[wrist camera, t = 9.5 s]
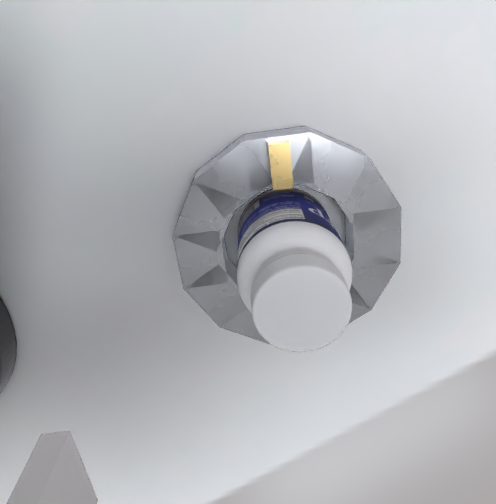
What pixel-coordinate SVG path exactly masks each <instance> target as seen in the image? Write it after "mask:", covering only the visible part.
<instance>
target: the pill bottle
mask: <svg viewBox="0 0 496 504" xmlns="http://www.w3.org/2000/svg"><path fill="white" fill-rule="evenodd" d="M351 283H352V265H351V261H350V258H349V255H348V252H347V250H346V248H345V246H344V244H343V242H342V241H341V239H340V237H339V235H338V233H337V232H336V230H335V228H334V226H333V224H332V223H331V221H330V219H329V217H328V215H327V213H326V211H325V210H324V208H323V207H322V205H321V204H320V203H319V202H318V201H317V200H316V199H315V198H313V197H312V196H311V195H309V194H307V193H305V192H303V191H300V190H297V189H291V188H289V189H281V190H270V191H268V192H265V193H263V194H261V195H259V196H258V197H257V198H255V199H254V200H253V201H252V202H251V203H250V204H249V205H248V206H247V208H246V209H245V211H244V212H243V214H242V216H241V219H240V222H239V226H238V257H237V284H238V289H239V293H240V296H241V298H242V300H243V302H244V304H245V305H246V307H247V308H248V309H249V311H250V312H251V313H252V317H253V321H254V324H255V326H256V328H257V330H258V332H259V333H260V334H261V336H262V337H263V338H264V339H265V340H266V341H268V342H269V343H270V344H272V345H274V346H276V347H278V348H280V349H283V350H287V351H292V352H306V351H312V350H316V349H319V348H322V347H324V346H326V345H328V344H330V343H331V342H332V341H334V340H335V339H336V338H338V337H339V335H340V334H341V333H342V332H343V331H344V329H345V328H346V327H347V325H348V323H349V320H350V318H351V313H352V299H351V295H350V292H349V291H350V288H351Z"/></svg>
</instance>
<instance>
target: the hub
mask: <svg viewBox="0 0 496 504" xmlns="http://www.w3.org/2000/svg"><path fill="white" fill-rule="evenodd" d="M299 184H301V185H304V186H306V187H308V188H311V189H313V190H316V191H318V192H320V193H323V194H325V195H328V196H330V197H332V198H334V199H335V200H336V202H337V203H338V205H339V206H340V208H341V209H342V210H343V212H344V213H345V228H346V244H345V248H346V250H347V252H348V255H349V258H350V261H351V265H352V283H351V288H350V291H349V292H350V295H351V299H352V313H351V318H350V320H349V323H350V322H352V321H353V320H355V319H357V318H358V317H360V316H362V315H363V314H365V313H367V312H368V311H370V310H371V309H372V308H373V306H374V304H375V303H376V301H377V300H378V298H379V296H380V295H381V293H382V292H383V290H384V288H385V287H386V285H387V283H388V282H389V280H390V279H391V277H392V275H393V274H394V272H395V271H396V269H397V267H398V266H399V264H400V246H401V206H400V205H399V203H398V202H397V200H396V199H395V197H394V195H393V194H392V192H391V191H390V189H389V188H388V186H387V185H386V183H385V182H384V180H383V178H382V177H381V175H380V174H379V172H378V171H377V169H376V168H375V166H374V164H373V163H372V161H371V160H370V158H369V157H367V156H366V155H365V154H364V153H363V152H361V151H360V150H358V149H356V148H354V147H352V146H349V145H347V144H345V143H343V142H340V141H338V140H336V139H333V138H331V137H329V136H327V135H324V134H322V133H320V132H318V131H315V130H313V129H311V128H309V127H306V126H301V127H294V128H286V129H279V130H271V131H264V132H256V133H248V134H243V135H242V136H241V137H240V138H238V139H237V140H236V141H234V142H233V143H232V144H231V145H229V146H228V147H227V148H226V149H224V150H223V151H222V152H220V153H219V154H218V155H217V156H215V157H214V158H213V159H211V160H210V161H209V162H208V163H206V164H205V165H204V166H202V167H201V168H200V169H199V170H197V172H196V174H195V177H194V180H193V182H192V185H191V188H190V190H189V193H188V195H187V198H186V201H185V203H184V206H183V209H182V211H181V214H180V217H179V219H178V222H177V225H176V227H175V230H174V233H173V235H172V236H173V241H174V246H175V250H176V255H177V260H178V264H179V269H180V274H181V278H182V283H183V288H184V290H185V291H186V292H187V293H188V294H189V295H190V296H191V297H192V298H193V299H194V300H195V301H196V302H197V303H198V304H199V305H200V306H201V308H202V309H203V310H204V311H205V312H206V313H207V314H208V315H209V316H210V317H211V318H212V319H213V320H214V321H215V322H216V323H217V325H218V326H219V327H221V328H224V329H227V330H230V331H233V332H236V333H239V334H242V335H245V336H248V337H250V338H253V339H256V340H259V341H262V342H265V343H268V344H270V343H269V342H268V341H266V340H265V339H264V338H263V337H262V336H261V334H260V333H259V332H258V330H257V328H256V326H255V324H254V321H253V317H252V313H251V312H250V311H249V309H248V308H247V307H246V305H245V304H244V302H243V300H242V298H241V296H240V293H239V289H238V284H237V268H236V267H235V266H234V264H233V263H232V262H231V261H230V260H229V259H228V257H227V252H226V245H225V239H224V234H225V231H226V229H227V227H228V224H229V222H230V220H231V217H232V215H233V213H234V210H236V209H237V208H239V207H240V206H241V205H243V204H244V203H245V202H247V201H248V200H249V199H251V198H252V197H254V196H255V195H256V194H258V193H259V192H260V191H262V190H263V189H268V188H273V190H281V189H289V188H294V187H293V185H299ZM349 323H348V324H349Z"/></svg>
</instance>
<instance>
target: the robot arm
mask: <svg viewBox="0 0 496 504" xmlns="http://www.w3.org/2000/svg"><path fill="white" fill-rule="evenodd" d="M15 358H16V341H15V335H14V330H13V326H12V323H11V320H10V318H9V315H8V313H7V311H6V308H5V307H4V305H3V303H2V301H1V300H0V393H1V391H2V390H3V388H4V387H5V386H6V384H7V382H8V381H9V379H10V376H11V374H12V371H13V368H14V364H15ZM97 501H98V499H97V497H96V494H95V492H94V489H93V487H92V484H91V482H90V479H89V477H88V474H87V472H86V469H85V467H84V464H83V462H82V459H81V457H80V455H79V452H78V450H77V447H76V445H75V442H74V440H73V437H72V435H71V432H70V431H63V432H55V433H46V434H41V436H40V438H39V440H38V442H37V444H36V446H35V448H34V450H33V452H32V454H31V456H30V458H29V460H28V462H27V464H26V466H25V468H24V470H23V472H22V474H21V476H20V478H19V480H18V482H17V484H16V486H15V488H14V490H13V492H12V494H11V496H10V498H9V500H8V502H7V504H97Z"/></svg>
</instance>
